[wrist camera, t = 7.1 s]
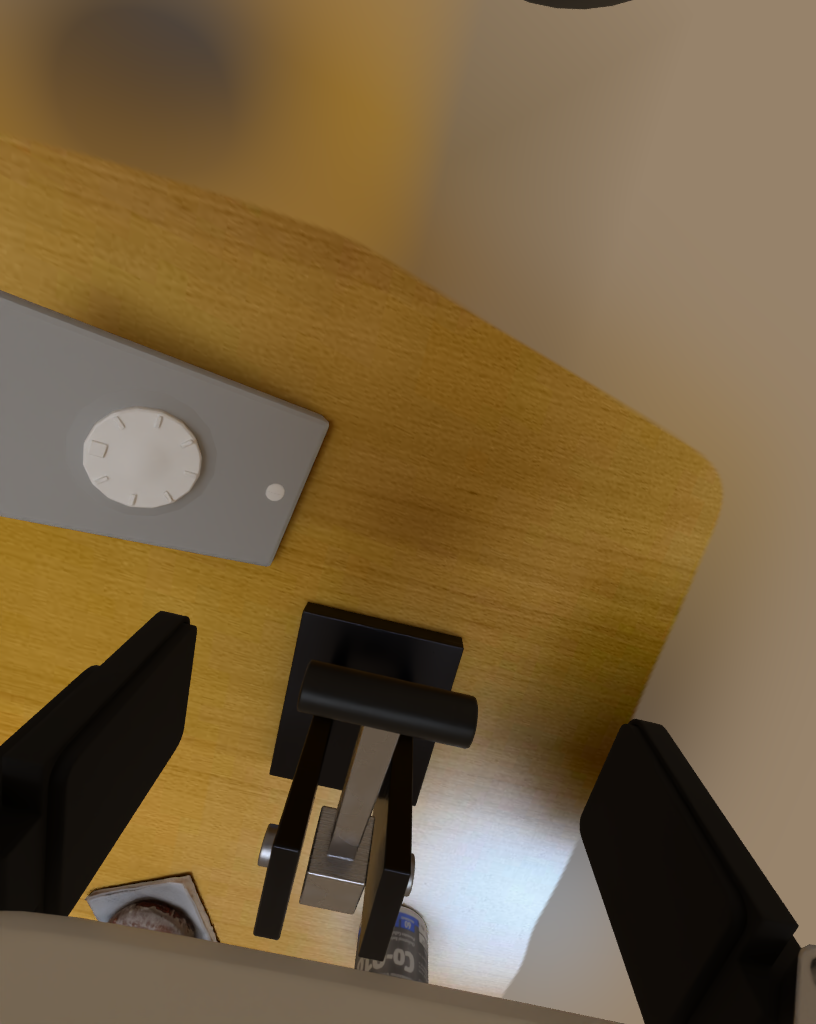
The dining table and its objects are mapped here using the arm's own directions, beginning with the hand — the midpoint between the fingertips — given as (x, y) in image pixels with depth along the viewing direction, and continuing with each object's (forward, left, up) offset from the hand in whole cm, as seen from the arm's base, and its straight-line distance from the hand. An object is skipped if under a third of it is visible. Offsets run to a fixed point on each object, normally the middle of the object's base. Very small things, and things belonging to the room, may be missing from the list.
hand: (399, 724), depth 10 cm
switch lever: (+7, +2, -6) cm, 9 cm away
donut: (+34, -1, -17) cm, 38 cm away
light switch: (+2, -12, -17) cm, 21 cm away
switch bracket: (+11, +3, -16) cm, 20 cm away
